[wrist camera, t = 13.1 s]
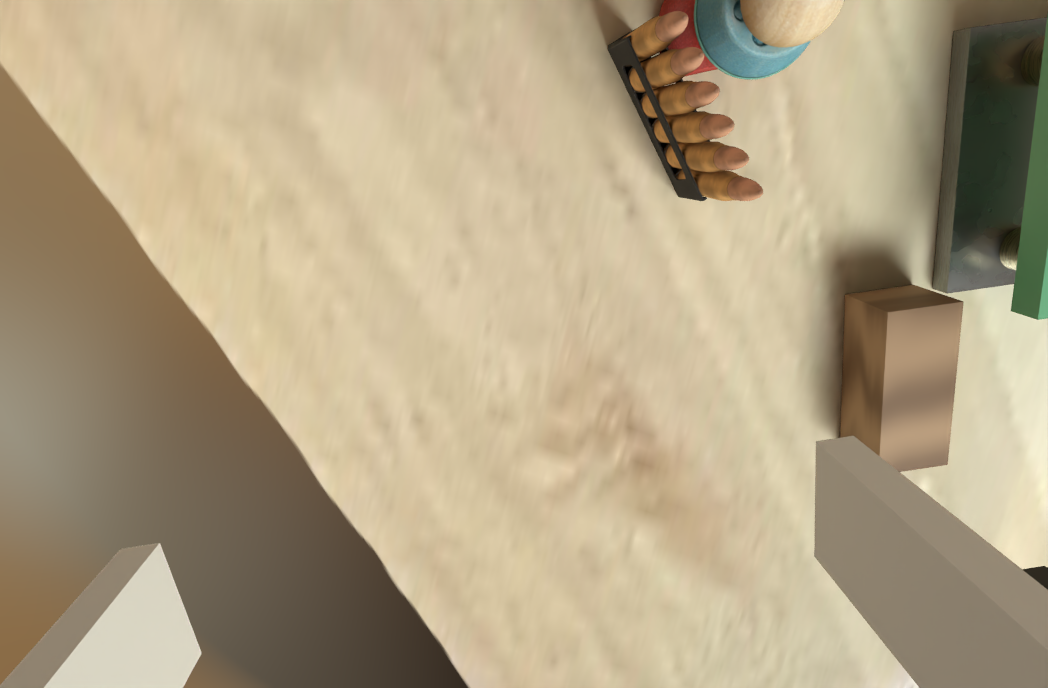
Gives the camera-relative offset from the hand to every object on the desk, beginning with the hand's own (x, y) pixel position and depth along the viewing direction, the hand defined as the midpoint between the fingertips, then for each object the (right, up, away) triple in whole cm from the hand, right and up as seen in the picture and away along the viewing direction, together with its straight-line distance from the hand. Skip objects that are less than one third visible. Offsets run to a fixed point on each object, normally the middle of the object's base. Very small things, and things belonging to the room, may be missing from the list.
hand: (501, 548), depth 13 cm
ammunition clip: (+9, +19, +28) cm, 35 cm away
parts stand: (+27, +2, +34) cm, 44 cm away
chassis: (+34, +17, +30) cm, 49 cm away
